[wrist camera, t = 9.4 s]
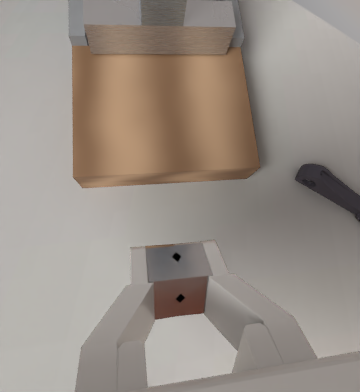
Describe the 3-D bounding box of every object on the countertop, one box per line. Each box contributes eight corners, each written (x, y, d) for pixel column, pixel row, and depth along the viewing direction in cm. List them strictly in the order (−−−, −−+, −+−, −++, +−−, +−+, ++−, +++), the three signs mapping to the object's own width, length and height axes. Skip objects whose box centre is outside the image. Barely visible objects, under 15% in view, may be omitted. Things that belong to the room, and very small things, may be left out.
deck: (82, 188, 22) (73, 177, 20) (81, 70, 25) (72, 45, 22) (246, 178, 24) (260, 167, 21) (230, 70, 27) (240, 47, 24)
